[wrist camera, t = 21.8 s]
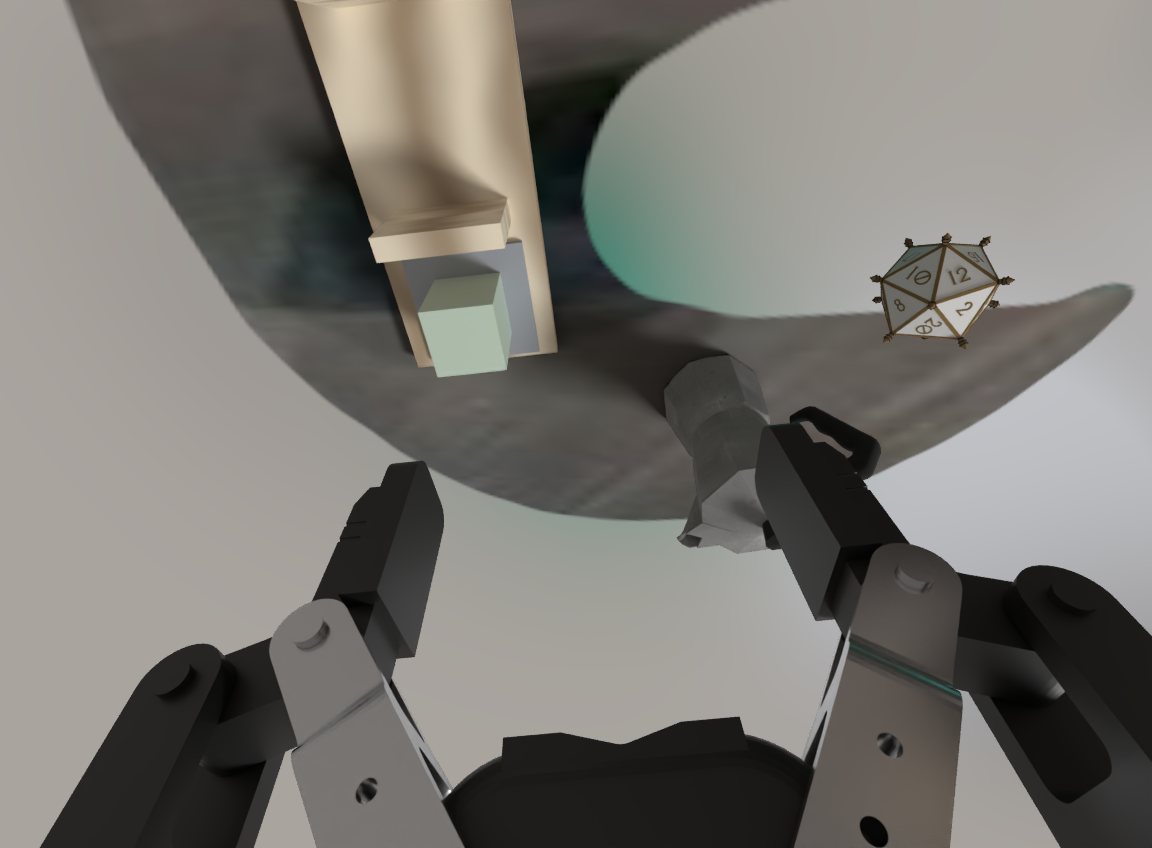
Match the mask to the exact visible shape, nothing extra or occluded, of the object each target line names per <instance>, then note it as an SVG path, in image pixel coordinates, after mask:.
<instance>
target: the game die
mask: <svg viewBox="0 0 1152 848" xmlns="http://www.w3.org/2000/svg"><path fill="white" fill-rule="evenodd" d="M990 238H991V236H989V237H986V238H983V240H981V241H980V244H979V245H972V244H955V243H949V242H950V241H951V236H950V235H949V233H947V234H946V235H945V236H943V237H942V243H939V244H929V245H917V246H913V242H912V239H908V238H906V239H905V243H904V244H905V245H906V247H908V250H907V251H906V252H905V253H904V254H903V255H902V256H901V258H900V259H899V260H898V261H897V262H896V263H895V264H894V265H893V267H892V268H891V269H890V270H889V271H888V272H887V273H886V274H885V276H884V277H883V278H881V277H880V276H877V275H875V276H873V277H870V279H871V280H872V281H873V282H880V284H881V297H875V298H874V299H873V300H872V301H874V302H875V303H880V302H881V301H882V305H883V308H884V312H885V315H886V319H887V323H888V326H889V330H890V333H889V334H886V336H885V337H884V340H883V343H885V342H888V341H889V342H890V340H891V339H892V337H893V336H894V335H899V336H913V337H921V338H923V339H924V340H925V339H927V338H943V339H957V340H958V341H959V342H958V344H959V345H960V346H959V347H962V348H964V349H967V345H968V342H967V340H965V339H964V338H963V337H964V336H965V334H966V333H967V332H968V330H969V329H970V328H971V327H972V325H973V324H974V323H975V321H976V320H977V319H978V318H979V316H980V315H981V314H982V313H983V311H984V310H985V309H986V307H987V306H988V305H989V306H990V307H993V308H995V307H997V306H1000V304H999V301H994V300H992V298H993V296H994V294H995V292H996V290H997V288H998V286H999V285H1000V284H1002V285H1006V284H1007V285H1009V284H1010V283H1011V282H1013V281H1014V280H1015V279H1012V278H1010V277H1009V276H1008V277H1006V278H1005V277H1004V278H1002V279H999V278H998V276H997V274H996V273H995V271H994V269H993V267H992V265H991V263H990V261H989V259H988V257H987V255H986V254H985V252H984V250H983V247H984V246H986V245H987V244H988V243H990Z"/></svg>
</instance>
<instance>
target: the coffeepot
mask: <svg viewBox="0 0 1152 848" xmlns="http://www.w3.org/2000/svg"><path fill="white" fill-rule="evenodd" d="M664 398H665V409H666V420H667V422H668V423H669V425H670V426H671V428H672V429H673V431H674V432H675V434H676V435H677V437H678V438H679V440H680V441H681V443H682V444H683V446H684V447H685V449H686V450H687V452H688V454H689V455H690V456H692V457H693V468H694V477H695V485H696V492H697V495H696V498H695V501H694V503H693V506H692V509H691V512H690V515H689V518H688V520H687V523H686V525H685V528H684V531H683V532H682V534H681V535H680V536H678V537H677V539H678V540H679V542H681V543H682V544H683V545H685V546H687V547H689V548H691V547H696V546H697V548H701V547H709V546H715V545H720V546H723V547H725V548H727V549H729V550H731V551H733V552H735V553H744V552H752V551H759V550H765V549H771V550H776V549H782V548H781V546H780V544H779V542H778V540H777V537H776V535H775V533H774V531H773V529H772V527H771V525H770V523H769V520H768V518H767V516H766V514H765V512H764V510H763V508H762V506H761V503H760V501H759V499H758V496H757V492H756V487H755V470H756V463H757V457H758V451H759V444H760V438H761V432H762V429H763V427H764V426H768V425H770V422H769V414H768V411H767V407H766V404H765V401H764V397H763V394H762V390H761V387H760V384H759V380H758V377H757V374H756V373H755V372H753V371H752V370H750V369H749V368H748V367H746V366H745V365H744V364H743V363H741V362H739V361H737V360H736V359H734V358H733V357H731V356H730V355H724V356H713V357H706V358H702V359H699V360H697V361H693V362H689V363H688V364H687V365H686V366H685V367H684V368H682V369H681V370H680V371H679V372H678V373H677V374H676V375H675V376H674V378H673V379H672V380H671V381H670V383H669V385H668V386H667V387H666V388H665V389H664ZM804 421H809V422H811V423H813V425H814V426H815V427H816V429H817V430H818V431H819V432H821V433H823V434H825V435H828V436H830V437H832V438H833V439H834V440H835V441H836V442H837V443H838V444H839V445H840V446H842V447H843V448H845V449H846V450H849V451H851V452H853V454H852V456H851V457H849V458H847V459H848V461H849V462H850V464H851V465H852V466H853V468H854V469H855V470H856V472H857V476H860V477H861V478H862V480H865V479H868V478H869V477H871V476H872V475H873V473H874V470H875V467H876V465H877V462H878V459H879V457H880V454H881V447H880V444H879V443H878V441H877V440H876V439H875V438H873V437H872V436H870V435H868V434H865V433H863V432H861V431H859V430H857V429H856V428H854V427H852V426H850V425H848V424H846V423H845V422H843V421H840V420H839V419H837V418H835V417H833V416H831V415H829V414H828V413H826V412H824V411H822V410H820V409H818V408H816V407H811V406H809V407H806V408H803V409H801V410H799V411H798V412H796V413H794V414H793V415H791V416H790V423H800V422H804Z"/></svg>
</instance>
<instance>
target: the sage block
mask: <svg viewBox="0 0 1152 848" xmlns="http://www.w3.org/2000/svg"><path fill="white" fill-rule="evenodd" d="M418 316H419V319H420V322H421V325H422V328H423V332H424V335H425V338H426V341H427V344H428V348H429V351H430V354H431V357H432V360H433V364H434V367H435V370H436V373H437V376H438V377H446V376H455V375H464V374H474V373H483V372H492V371H501V370H507V364H508V356H509V349H510V342H511V335H512V331H511V326H510V321H509V315H508V310H507V305H506V300H505V295H504V290H503V285H502V280H501V274H500V272H499V273H490V274H481V275H472V276H464V277H455V278H446V279H437V280H434V282H433V284H432V286H431V288H430V290H429V292H428V294H427V296H426V298H425V299H424V301H423V303H422V305H421V307H420V309H419V311H418Z"/></svg>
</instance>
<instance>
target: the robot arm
mask: <svg viewBox="0 0 1152 848" xmlns="http://www.w3.org/2000/svg"><path fill="white" fill-rule="evenodd" d="M755 487H756V492H757V496H758V499H759V501H760V503H761V506H762V508H763V510H764V512H765V514H766V516H767V518H768V520H769V523H770V525H771V527H772V529H773V531H774V533H775V535H776V537H777V540H778V542H779V544H780V546H781V548H782V550H783V552H784V554H785V557H786V559H787V561H788V563H789V565H790V567H791V569H792V571H793V574H794V576H795V578H796V580H797V582H798V584H799V586H800V588H801V591H802V593H803V595H804V597H805V599H806V601H807V603H808V606H809V608H810V610H811V612H812V614H813V616H814V618H815V620H816V621H822V620H832V619H835V620H836V622H837V624H838V626H839V628H840V630H841V634H840V637H839V639H838V643H837V646H836V649H835V653H834V656H833V660H832V663H831V666H830V670H829V673H828V677H827V680H826V683H825V687H824V690H823V693H822V697H821V700H820V704H819V707H818V710H817V714H816V717H815V720H814V723H813V726H812V729H811V732H810V734H809V737H808V740H807V743H806V746H805V749H804V753H803V756H802V759H800V758H799V757H797V756H795V755H794V754H792V753H791V752H789V751H787V750H786V749H784V748H782V747H780V746H778V745H776V744H773V743H771V742H769V741H766V740H763V739H760V738H757V737H754V736H750V735H745V734H744V731H743V728H742V724H741V720H740V717H730V718H719V719H707V720H697V721H685V722H679V723H677V724H674V725H672V726H669V727H667V728H664V729H662V730H660V731H657V732H654V733H652V734H649V735H647V736H644V737H642V738H639V739H637V740H634V741H632V742H629V743H626V744H614V743H609V742H604V741H599V740H594V739H590V738H584V737H580V736H575V735H570V734H565V733H550V734H539V735H528V736H517V737H505V738H503V747H502V756H500V757H498V758H495V759H493V760H491V761H489V762H488V763H486V764H484V765H482V766H480V767H479V768H478V769H476V770H475V771H474V772H472V773H471V774H469V775H468V776H467V777H466V778H465V779H464V780H463V781H461V782H460V783H459V784H458V785H457V786H456V787H455V788H454V789H453V788H452V786H451V784H450V783H449V781H448V779H447V777H446V775H445V774H444V772H443V770H442V768H441V767H440V765H439V763H438V762H437V760H436V758H435V757H434V755H433V753H432V751H431V749H430V748H429V746H428V744H427V742H426V740H425V738H424V736H423V734H422V733H421V731H420V729H419V727H418V725H417V723H416V721H415V719H414V717H413V716H412V713H411V711H410V710H409V708H408V706H407V704H406V702H405V700H404V698H403V696H402V694H401V693H400V691H399V689H398V687H397V685H396V683H395V681H394V679H393V678H392V674H393V669H394V666H395V662H396V659H398V658H409V657H415V652H416V649H417V644H418V640H419V635H420V631H421V626H422V622H423V618H424V613H425V609H426V604H427V600H428V596H429V591H430V587H431V582H432V578H433V573H434V569H435V565H436V560H437V556H438V551H439V547H440V542H441V537H442V533H443V528H444V514H443V508H442V505H441V502H440V499H439V497H438V494H437V491H436V488H435V486H434V483H433V480H432V478H431V475H430V472H429V470H428V467H427V465H426V463H425V462H424V461H415V462H405V463H395V464H391V465H389V467H388V469H387V471H386V473H385V476H384V479H383V481H382V484H381V486H380V487H372V488H369V490H367V491H366V493H365V494H364V495H363V496H362V497H361V498H360V499H359V500H358V501H357V502H356V503H355V505H354V506H353V509H352V511H351V513H350V516H349V518H348V520H347V523H346V524H347V526H346V527H344V529H343V532H342V534H341V536H340V542H338V543H337V546H336V548H335V550H334V553H333V555H332V557H331V559H330V562H329V564H328V566H327V568H326V571H325V573H324V575H323V577H322V580H321V582H320V584H319V587H318V589H317V591H316V593H315V596H314V598H313V600H312V602H310V603H308V604H305V605H303V606H302V607H300V608H298V609H297V610H295V611H294V612H293V613H291V614H290V615H289V616H288V617H287V618H286V619H285V620H284V621H283V622H282V623H281V625H279V627H278V628H277V630H276V631H275V633H274V635H273V637H271V638H269V639H267V640H264V641H261V642H259V643H256V644H253V645H251V646H248V647H246V648H243V649H241V650H238V651H235V652H233V653H230V654H227V655H225V656H224V655H223V654H222V653H221V652H220V651H219V650H218V649H217V648H215V647H214V646H212V645H209V644H195V645H191V646H188V647H185V648H182V649H180V650H178V651H176V652H174V653H173V654H171V655H169V656H167V657H166V658H164V659H163V660H162V661H160V662H159V663H158V664H157V665H155V666H154V667H153V668H152V669H151V670H150V671H149V672H148V673H147V674H146V675H145V676H144V678H143V679H142V680H141V681H140V683H139V684H138V686H137V687H136V689H135V690H134V692H133V694H132V695H131V697H130V699H129V700H128V702H127V704H126V705H125V707H124V709H123V710H122V712H121V714H120V715H119V717H118V719H117V720H116V722H115V723H114V725H113V727H112V729H111V730H110V732H109V733H108V735H107V737H106V739H105V740H104V742H103V744H102V745H101V747H100V749H99V750H98V752H97V753H96V755H95V757H94V758H93V760H92V762H91V763H90V765H89V767H88V768H87V770H86V772H85V774H84V775H83V777H82V779H81V780H80V782H79V783H78V785H77V787H76V788H75V790H74V792H73V794H72V795H71V797H70V798H69V800H68V802H67V804H66V805H65V807H64V808H63V810H62V812H61V813H60V815H59V817H58V818H57V820H56V822H55V823H54V825H53V827H52V828H51V830H50V832H49V833H48V835H47V837H46V838H45V840H44V842H43V843H42V845H41V847H40V848H254V845H255V842H256V839H257V836H258V833H259V830H260V827H261V824H262V821H263V818H264V815H265V812H266V809H267V806H268V803H269V799H270V796H271V794H272V791H273V788H274V784H275V781H276V778H277V775H278V772H279V769H280V766H281V763H282V760H283V757H284V754H285V752H286V751H288V750H290V749H292V748H295V747H297V746H298V747H297V748H296V749H294V750H293V751H292V753H291V759H292V766H293V770H294V774H295V777H296V780H297V783H298V787H299V790H300V793H301V797H302V800H303V804H304V807H305V810H306V813H307V817H308V820H309V823H310V827H311V830H312V833H313V837H314V840H315V843H316V847H317V848H950V840H951V829H952V818H953V807H954V796H955V786H956V775H957V764H958V753H959V743H960V731H961V721H962V708H963V704H962V703H963V702H962V696H961V693H960V692H959V691H958V690H962V691H967V692H969V694H970V696H971V697H972V699H973V701H974V702H975V704H976V706H977V707H978V709H979V711H980V712H981V714H982V716H983V717H984V719H985V721H986V723H987V724H988V726H989V728H990V729H991V731H992V733H993V734H994V736H995V737H996V739H997V741H998V743H999V744H1000V746H1001V748H1002V750H1003V751H1004V752H1005V755H1006V756H1007V758H1008V760H1009V761H1010V763H1011V764H1012V766H1013V768H1014V770H1015V771H1016V773H1017V775H1018V776H1019V778H1020V780H1021V781H1022V783H1023V785H1024V787H1025V788H1026V790H1027V792H1028V793H1029V795H1030V797H1031V798H1032V800H1033V802H1034V803H1035V805H1036V807H1037V808H1038V810H1039V812H1040V814H1041V815H1042V817H1043V818H1044V820H1045V822H1046V824H1047V825H1048V827H1049V829H1050V830H1051V832H1052V834H1053V835H1054V837H1055V839H1056V840H1057V842H1058V844H1059V846H1060V847H1061V848H1152V636H1151V635H1150V634H1149V633H1148V632H1147V631H1146V630H1145V629H1144V628H1143V627H1142V625H1141V624H1139V623H1138V622H1137V620H1136V619H1135V618H1134V617H1133V616H1132V615H1131V614H1130V613H1129V612H1128V611H1127V610H1126V609H1125V608H1124V607H1123V606H1122V605H1121V604H1120V603H1119V602H1118V601H1117V600H1116V599H1115V598H1114V597H1113V596H1112V595H1111V594H1110V593H1109V592H1108V591H1106V590H1105V589H1104V588H1103V587H1101V586H1100V585H1098V584H1096V583H1095V582H1093V581H1091V580H1090V579H1088V578H1086V577H1084V576H1082V575H1080V574H1077V573H1075V572H1072V571H1069V570H1066V569H1063V568H1059V567H1054V566H1042V565H1038V566H1031V567H1028V568H1026V569H1024V570H1022V571H1021V572H1020V573H1019V575H1018V576H1017V577H1016V579H1015V580H1014V582H1008V581H1003V580H997V579H991V578H985V577H979V576H973V575H967V574H962V573H958V572H955V570H954V569H953V568H952V567H951V566H950V565H949V564H948V563H947V562H946V561H945V560H943V559H942V558H941V557H939V556H938V555H936V554H935V553H933V552H931V551H929V550H926V549H924V548H921V547H918V546H915V545H911V544H910V543H909V542H908V541H907V540H906V538H905V537H904V536H903V534H902V533H901V532H900V530H899V529H898V527H897V526H896V525H895V523H894V522H893V521H892V519H891V518H890V517H889V515H888V514H887V512H886V511H885V510H884V508H883V507H882V506H881V504H880V503H879V502H878V500H877V499H876V498H875V496H874V495H873V494H872V492H871V491H870V490H868V489H867V485H866V484H865V483H864V481H863V480H862V478H861V477H860V476H857V472H856V470H855V469H854V468H853V466H852V465H851V464H850V462H849V461H848V459H847V458H846V457H845V455H843V454H842V453H840V452H839V451H837V450H836V449H834V448H833V447H831V446H830V445H829V444H827V443H826V442H818V443H814V442H813V441H812V439H811V438H810V436H809V435H808V434H807V432H806V431H805V429H804V428H803V426H802V425H801V424H800V423H787V424H778V425H768V426H764V427H763V429H762V432H761V438H760V444H759V451H758V457H757V463H756V470H755ZM956 689H958V690H956Z"/></svg>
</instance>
